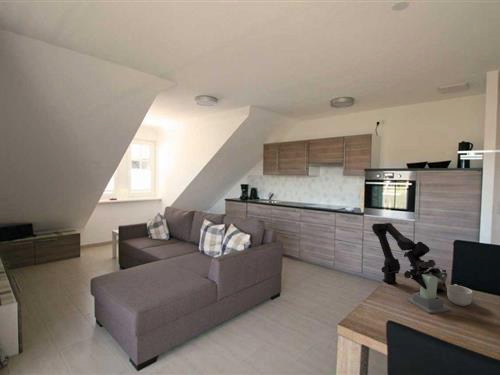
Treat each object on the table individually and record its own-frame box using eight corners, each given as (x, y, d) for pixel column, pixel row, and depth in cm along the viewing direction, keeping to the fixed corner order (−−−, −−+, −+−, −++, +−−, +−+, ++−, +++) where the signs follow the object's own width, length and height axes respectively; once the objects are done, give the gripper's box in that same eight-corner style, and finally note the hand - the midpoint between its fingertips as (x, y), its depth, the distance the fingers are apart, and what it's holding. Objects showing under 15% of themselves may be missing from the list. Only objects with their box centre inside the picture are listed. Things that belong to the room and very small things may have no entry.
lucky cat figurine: (414, 283, 167) (419, 262, 170) (431, 291, 167) (436, 270, 170) (432, 287, 152) (437, 264, 156) (451, 295, 152) (456, 272, 156)
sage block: (419, 297, 142) (421, 274, 141) (427, 296, 143) (429, 273, 142) (427, 302, 137) (429, 278, 136) (435, 301, 138) (437, 277, 137)
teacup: (472, 310, 136) (473, 295, 135) (445, 303, 142) (446, 289, 142) (470, 299, 147) (471, 286, 146) (446, 294, 153) (447, 280, 153)
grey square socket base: (406, 300, 145) (406, 291, 145) (426, 297, 149) (426, 288, 148) (429, 313, 132) (429, 304, 132) (450, 310, 135) (451, 301, 135)
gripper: (409, 255, 141) (424, 284, 131) (439, 253, 144) (456, 281, 134) (397, 264, 149) (411, 291, 139) (426, 262, 152) (442, 289, 142)
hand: (430, 288), depth 138 cm, fingers closed on sage block, 5 cm apart
